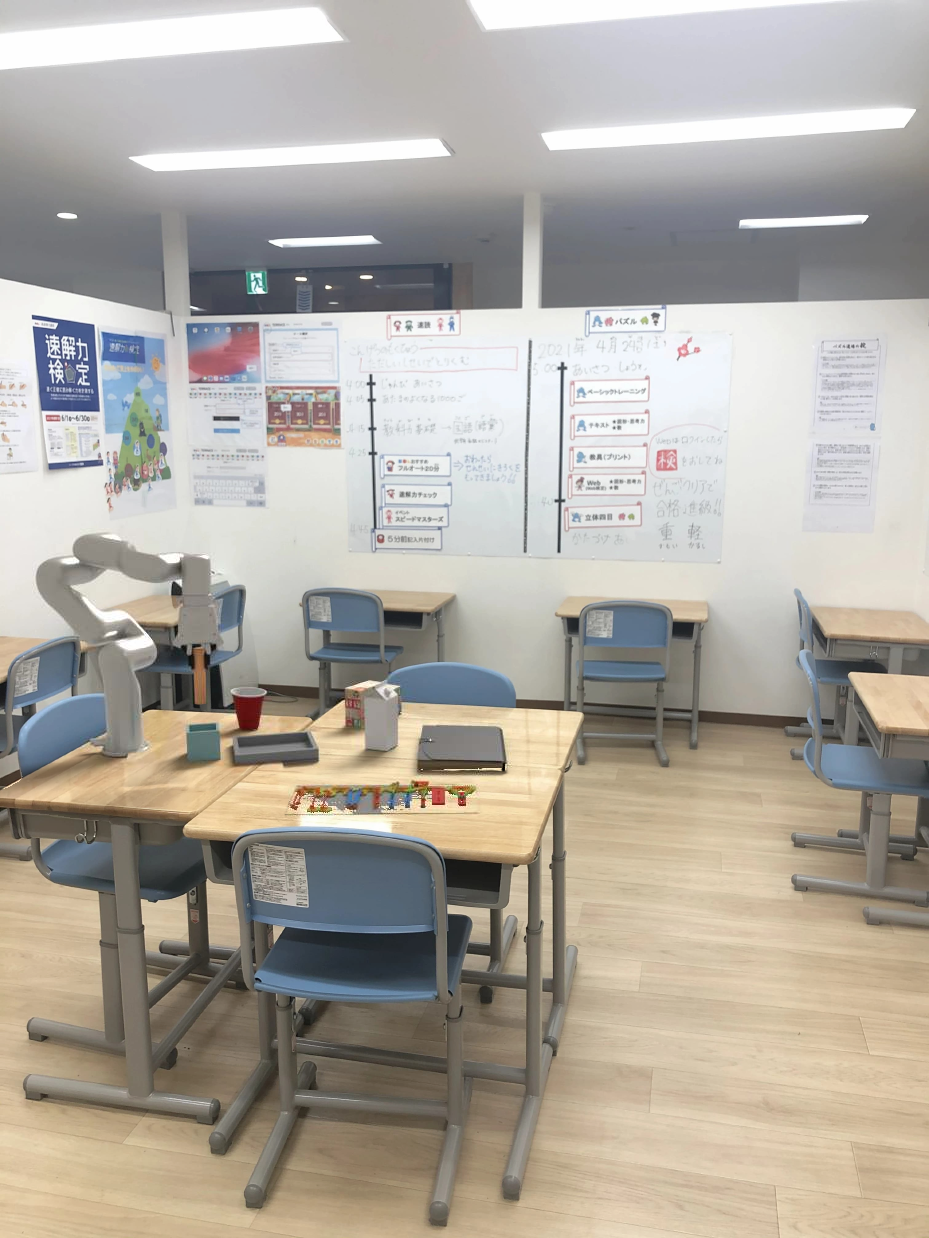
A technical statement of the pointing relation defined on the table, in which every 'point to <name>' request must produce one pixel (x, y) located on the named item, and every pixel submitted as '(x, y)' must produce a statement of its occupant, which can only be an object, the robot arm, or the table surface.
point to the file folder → (461, 747)
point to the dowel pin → (199, 675)
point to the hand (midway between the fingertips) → (199, 667)
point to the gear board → (376, 796)
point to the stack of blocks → (362, 702)
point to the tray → (276, 748)
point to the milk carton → (381, 718)
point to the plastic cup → (248, 706)
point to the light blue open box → (203, 742)
